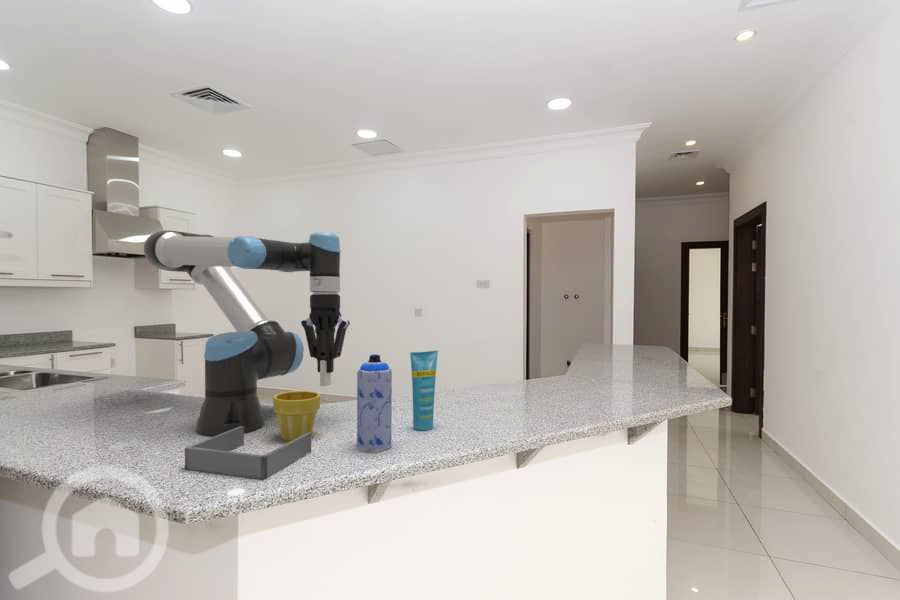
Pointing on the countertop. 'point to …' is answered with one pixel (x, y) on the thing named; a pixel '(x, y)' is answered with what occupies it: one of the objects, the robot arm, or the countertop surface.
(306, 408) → the plant pot
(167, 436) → the countertop surface
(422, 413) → the tube
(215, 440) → the frame
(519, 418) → the countertop surface
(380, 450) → the aerosol can
